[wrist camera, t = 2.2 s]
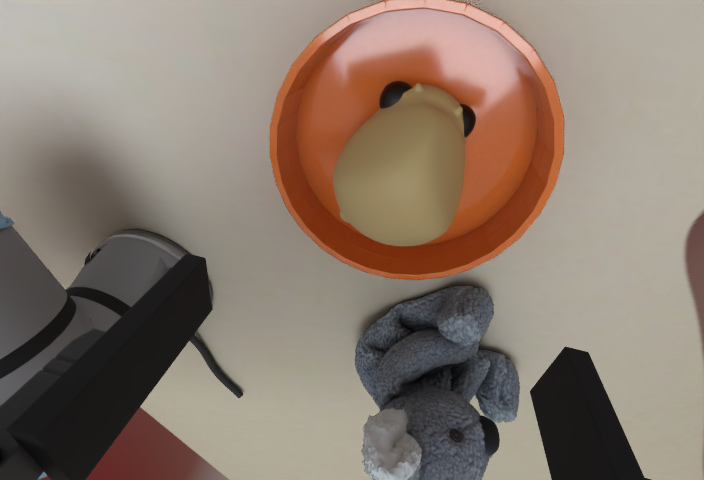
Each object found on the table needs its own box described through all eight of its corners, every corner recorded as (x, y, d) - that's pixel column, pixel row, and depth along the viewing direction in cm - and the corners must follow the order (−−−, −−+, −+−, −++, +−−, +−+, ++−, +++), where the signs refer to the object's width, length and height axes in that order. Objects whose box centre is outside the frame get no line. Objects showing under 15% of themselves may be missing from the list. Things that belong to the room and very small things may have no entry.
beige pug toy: (456, 155, 33) (530, 87, 22) (415, 271, 30) (478, 256, 20) (361, 111, 32) (392, 20, 21) (310, 227, 29) (319, 187, 19)
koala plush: (521, 375, 42) (574, 594, 27) (388, 390, 50) (367, 570, 34) (482, 269, 35) (522, 484, 19) (332, 305, 42) (271, 483, 26)
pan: (485, 269, 35) (492, 303, 31) (287, 222, 37) (269, 249, 33) (602, 28, 23) (638, 32, 19) (297, -25, 25) (270, -32, 20)
